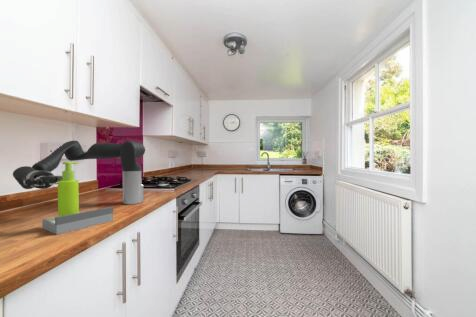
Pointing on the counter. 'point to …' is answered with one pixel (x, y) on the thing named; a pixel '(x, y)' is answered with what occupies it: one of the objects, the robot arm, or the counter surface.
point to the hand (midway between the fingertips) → (56, 181)
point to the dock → (78, 220)
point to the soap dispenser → (68, 192)
